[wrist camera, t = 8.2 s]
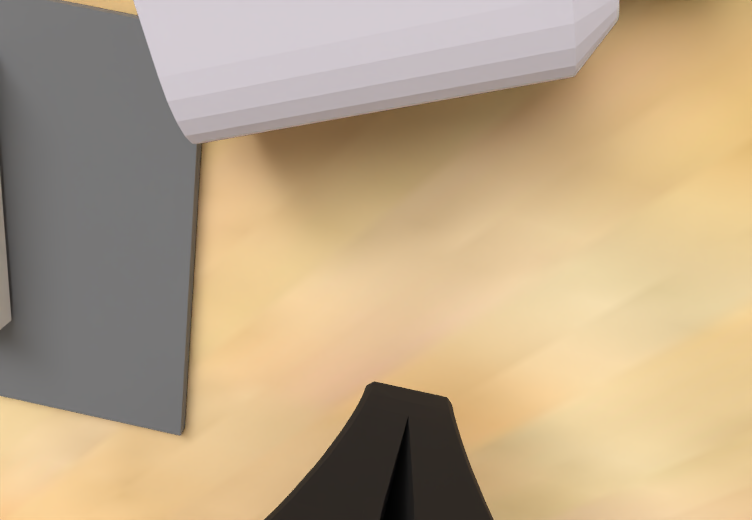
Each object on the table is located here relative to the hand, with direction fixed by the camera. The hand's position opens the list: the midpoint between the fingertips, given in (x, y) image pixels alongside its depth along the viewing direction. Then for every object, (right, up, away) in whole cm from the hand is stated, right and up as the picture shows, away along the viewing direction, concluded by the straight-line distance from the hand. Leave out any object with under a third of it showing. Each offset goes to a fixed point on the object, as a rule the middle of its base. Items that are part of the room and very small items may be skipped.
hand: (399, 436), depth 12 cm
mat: (-13, +4, +11) cm, 17 cm away
